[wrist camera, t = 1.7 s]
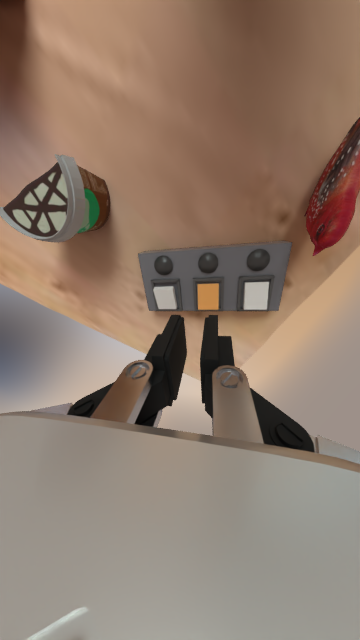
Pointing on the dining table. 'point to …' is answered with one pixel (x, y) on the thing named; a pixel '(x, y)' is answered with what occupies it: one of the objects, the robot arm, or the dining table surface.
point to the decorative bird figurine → (335, 194)
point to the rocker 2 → (255, 295)
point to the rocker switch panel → (216, 273)
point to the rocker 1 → (165, 297)
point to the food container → (59, 203)
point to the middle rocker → (208, 296)
